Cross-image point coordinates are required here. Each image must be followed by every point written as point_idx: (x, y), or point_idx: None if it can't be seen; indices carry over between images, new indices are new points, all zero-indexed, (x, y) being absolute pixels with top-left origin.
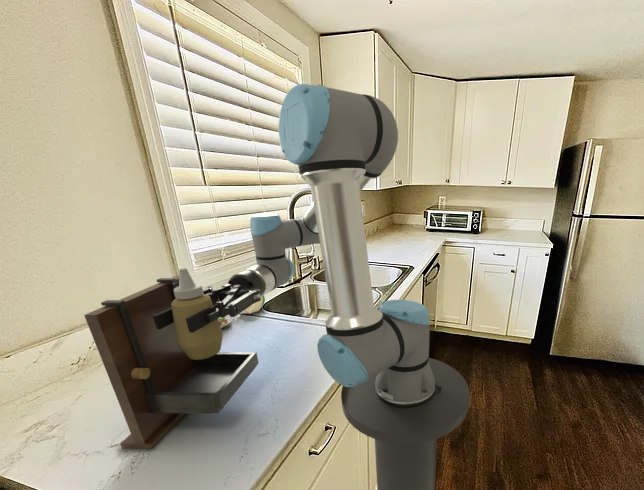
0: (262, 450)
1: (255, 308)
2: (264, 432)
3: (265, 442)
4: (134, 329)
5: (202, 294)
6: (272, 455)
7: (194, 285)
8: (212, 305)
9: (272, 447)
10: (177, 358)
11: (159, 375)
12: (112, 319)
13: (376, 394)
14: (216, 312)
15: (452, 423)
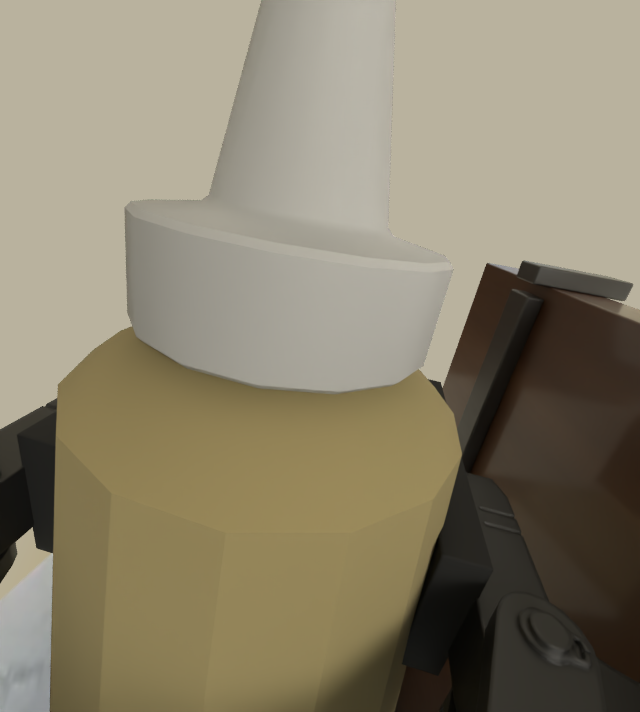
0: (43, 603)
1: None
2: (17, 684)
3: (26, 634)
4: (498, 436)
5: (153, 361)
6: (21, 583)
7: (214, 189)
8: (55, 444)
9: (11, 611)
10: None
11: (422, 673)
12: (494, 317)
13: None
14: (35, 415)
15: None
